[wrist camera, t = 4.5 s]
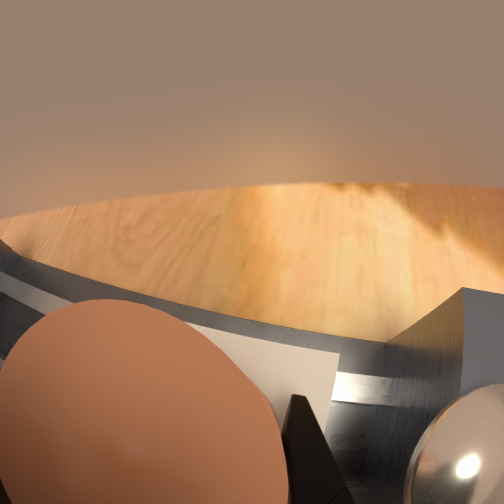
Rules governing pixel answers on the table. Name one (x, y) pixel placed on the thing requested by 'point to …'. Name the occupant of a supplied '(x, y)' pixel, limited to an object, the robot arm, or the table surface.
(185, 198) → the table surface
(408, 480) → the rail
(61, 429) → the carriage
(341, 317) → the table surface
